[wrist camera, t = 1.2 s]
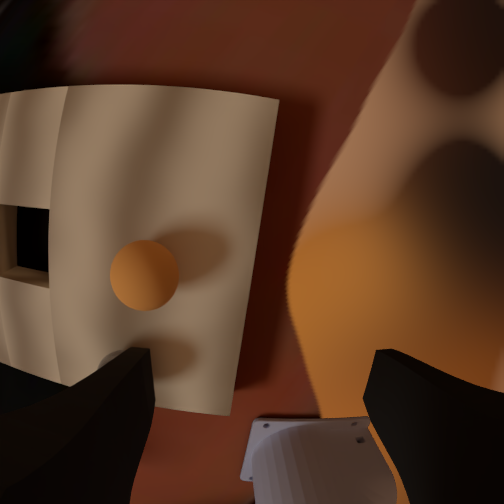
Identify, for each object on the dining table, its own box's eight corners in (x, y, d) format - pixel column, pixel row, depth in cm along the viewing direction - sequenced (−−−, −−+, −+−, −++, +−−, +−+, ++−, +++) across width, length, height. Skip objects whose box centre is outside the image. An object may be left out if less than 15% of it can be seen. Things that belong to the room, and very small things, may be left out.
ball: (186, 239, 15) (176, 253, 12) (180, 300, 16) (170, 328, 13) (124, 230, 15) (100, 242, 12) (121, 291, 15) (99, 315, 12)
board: (272, 111, 16) (279, 99, 14) (228, 392, 20) (229, 415, 17) (9, 102, 14) (-12, 96, 12) (6, 343, 18) (-10, 357, 16)
